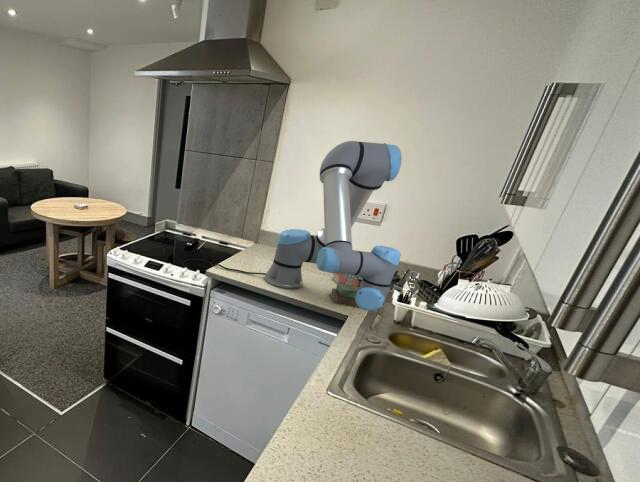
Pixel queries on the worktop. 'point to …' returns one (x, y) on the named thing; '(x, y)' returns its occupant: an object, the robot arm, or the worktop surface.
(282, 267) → the robot arm
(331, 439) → the worktop surface
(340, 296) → the green brown stepped block
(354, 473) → the worktop surface
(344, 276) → the stack of blocks
